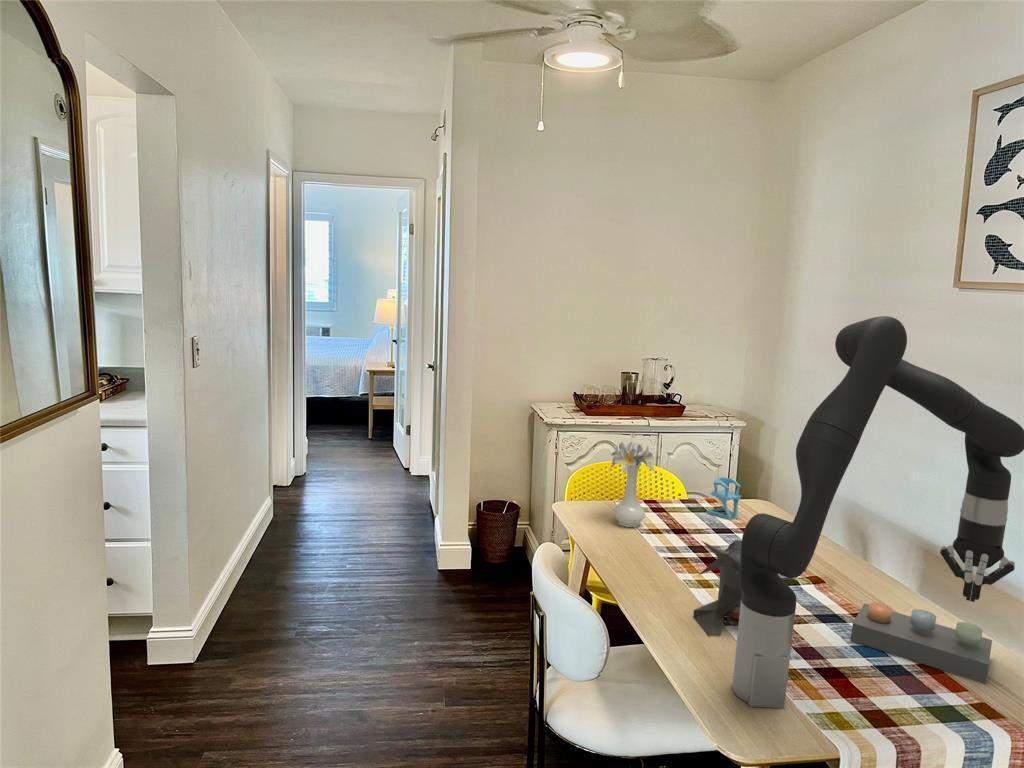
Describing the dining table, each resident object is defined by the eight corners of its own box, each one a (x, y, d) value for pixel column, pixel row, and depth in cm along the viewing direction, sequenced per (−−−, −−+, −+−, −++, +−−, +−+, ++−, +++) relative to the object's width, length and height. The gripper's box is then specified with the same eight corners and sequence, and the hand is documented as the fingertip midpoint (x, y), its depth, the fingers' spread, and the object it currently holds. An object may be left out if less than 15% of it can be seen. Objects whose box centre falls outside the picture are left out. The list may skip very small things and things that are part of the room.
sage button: (981, 637, 142) (983, 626, 141) (980, 646, 138) (981, 635, 138) (956, 630, 144) (957, 619, 144) (953, 638, 141) (955, 627, 141)
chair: (725, 521, 219) (728, 484, 217) (705, 512, 226) (709, 476, 225) (742, 518, 223) (746, 481, 221) (723, 509, 230) (726, 474, 228)
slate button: (935, 624, 147) (937, 614, 146) (933, 632, 143) (934, 621, 143) (911, 617, 149) (913, 607, 149) (908, 625, 146) (910, 614, 145)
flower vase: (643, 514, 223) (649, 437, 219) (653, 535, 204) (660, 452, 200) (602, 511, 223) (607, 435, 219) (608, 533, 205) (614, 449, 201)
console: (989, 658, 145) (992, 640, 144) (985, 683, 135) (988, 664, 134) (861, 619, 159) (864, 603, 158) (850, 640, 149) (852, 623, 149)
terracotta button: (892, 617, 151) (893, 607, 151) (888, 625, 148) (890, 614, 148) (869, 611, 154) (871, 600, 154) (865, 618, 150) (867, 607, 150)
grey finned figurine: (776, 634, 151) (785, 554, 148) (708, 636, 148) (716, 555, 145) (745, 602, 165) (753, 529, 162) (682, 604, 162) (689, 529, 159)
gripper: (1024, 520, 137) (1010, 603, 140) (945, 504, 145) (934, 583, 148) (1024, 530, 131) (1010, 617, 134) (942, 514, 139) (930, 596, 142)
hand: (970, 599), depth 141 cm, fingers closed
